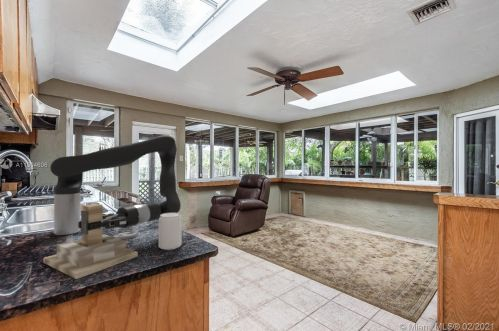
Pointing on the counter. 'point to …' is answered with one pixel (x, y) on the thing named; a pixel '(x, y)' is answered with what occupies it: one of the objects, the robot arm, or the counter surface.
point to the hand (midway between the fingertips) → (83, 226)
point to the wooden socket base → (89, 256)
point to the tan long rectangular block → (87, 216)
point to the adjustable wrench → (126, 235)
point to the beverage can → (170, 231)
